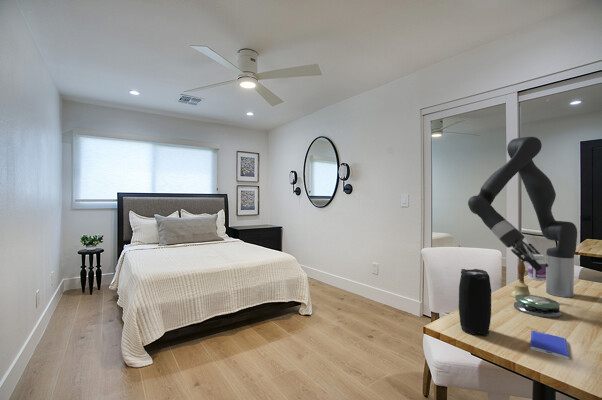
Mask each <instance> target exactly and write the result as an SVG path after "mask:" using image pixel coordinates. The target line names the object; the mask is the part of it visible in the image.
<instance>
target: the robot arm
mask: <svg viewBox="0 0 602 400" xmlns="http://www.w3.org/2000/svg"><path fill="white" fill-rule="evenodd" d="M542 145H543V144H542V141H541V139H540V138H538V137H537V136H524V137H517V138H513V139H511V140H510V141H509V142H508V144H507V147H506V148H507V149H506V151H507V154H508V156H509V158H510V159H509V160H508V161H507V162H506V163H505V164H503V166H501V167H500V168H498V169H497V170H495V172H493V173H492V174H491V175H490V176H489V177H488V178H487V180H485V182H484V183H483V185H482V186H481V188H480V190H479V191H480V192H479V193H478V194H477V195H473V196H470V197H469V199H468V201H467V204H468V208H469V210H470V211H471V213H472V214H475V215H477V216H478V217H479V218H480V219H481V221H482V222H483V223H484V225H485V226H486V227H487V228H488V229H489V230H490V231H491V232H492V234H493V235H495V237H496V238H497V239H498V240H499V241H500V242H501V243H502V244H503V245H504V246H505V247H506V248H511V249H510V251H511V252H512V253H513V254H514V255H516V256H517V257H518V258H519V260H520V261H523V262H524V263H527V264H528V263H529V264H530V265H531V266H532V267H533V268H534V269H535V270H536V271H538V270H540V269H542V266H541V265H540V264H539V263H538V262H536V261H535V260H533V257H532V256H531V254H541V253H540V252H539V251H538V250H537V249H536V248H535V246H534V245H533V244H532V243H526V242H525V241H523V240H524V239H526V238H525V237H526V236H525V235H524V234H523V233H522V232H520V231H519V230H518V229H517V228H516V227H515V226H514V225H513V224H512V223H510V222H509V221H508V220H507V219H506V218H505V217H503V215H502V214H501V213H499V212H498V211H497V210H496V209H495V208H494V207H493V205H492V203H493V202H494V201H495V199H496V197H497V196H498V195H499V194H500V193H501V191H502V190H503V189H504V187H505V186H506V185H507V184H508V183H509V182H510V181H511V179H513V178H514V176H515V175H516V174H519V177H520V179H521V180H522V181H521V182H522V183H523V185H524V188H525V191H526V193H527V195H528V197H529V200H530V201H531V204H532V207H533V209H534V211H535V214H536V217H537V218H536V219H537V221H538V225H539V228H540V231H541V234H542V235H543V237H544V238H545V239H546V240H548V241H554V242H557V245H556V246H554V247H550V248H547V249H546V260H545V262H546V280H545V281H546V282H545V292H546V293H547V294H549V295H553V296H556V297H562V298H574V295H575V293H574V291H575V290H574V288H575V253H576V251H577V242H578V228H577V226H576V224H575V223H574V222H572V221H565V220H564V221H562V220H556V219H555V218H554V215H553V212H552V208H553V205H554V203H555V201H556V197H557V195H556V190H555V188H554V185H553V183H552V180H551V179H550V178H549V177H548V176H547V175H546V174H545V173H544V172H543V171H542V170H541V169H540V168H539V167H538V166H537V165H536V164H535V163H534V161H533V159H534V158H535V157H536V156H537V155H538V154H539V153H540V151H541V150H542Z"/></svg>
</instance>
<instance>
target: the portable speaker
mask: <svg viewBox="0 0 602 400" xmlns="http://www.w3.org/2000/svg"><path fill="white" fill-rule="evenodd" d="M490 278H491V277H490V275H489V273H488V271H486V270H483V269H479V268H474V269H465V268H461V271H460V278H459V279H460V280H459V285H458V315H459V323H460V327H461V328H460V329H461V330H462V331H463V332H465V333H466V334H468V335H471V336H473V335H475V334H483V336H485V337H486V336H488V335H489V334H490V333H489V332H490V326H491V322H492V321H491V319H492V287H491V279H490Z"/></svg>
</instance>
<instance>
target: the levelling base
mask: <svg viewBox="0 0 602 400" xmlns="http://www.w3.org/2000/svg"><path fill="white" fill-rule="evenodd" d="M513 307H514V309H516V310H517V311H519V312H521V313H524V314H526V315H531V316H534V317H539V318H546V319H558V318H562V311H561V310H560V309H561V308H560V303H559V302H558V301H556V300H554V299H551V298H547V297H544V296H540V295H534V294H531V295H526V294H520V295H516V298H515V302H514V303H513Z"/></svg>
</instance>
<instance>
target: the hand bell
mask: <svg viewBox="0 0 602 400" xmlns="http://www.w3.org/2000/svg"><path fill="white" fill-rule="evenodd" d="M517 271H518V276H519V279H518V281H519V282H517V283H515V284H514V285H515V286H514V289H513V291H512V292H510V294H509V297H512V298H514V299H516V295H520V294H526V295H532V294H531V293H530V290H529V285H527V284H526V283H525V277H524V276H525V273H526V265H525V262H523V261H522V260H519V262H518V265H517Z"/></svg>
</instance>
